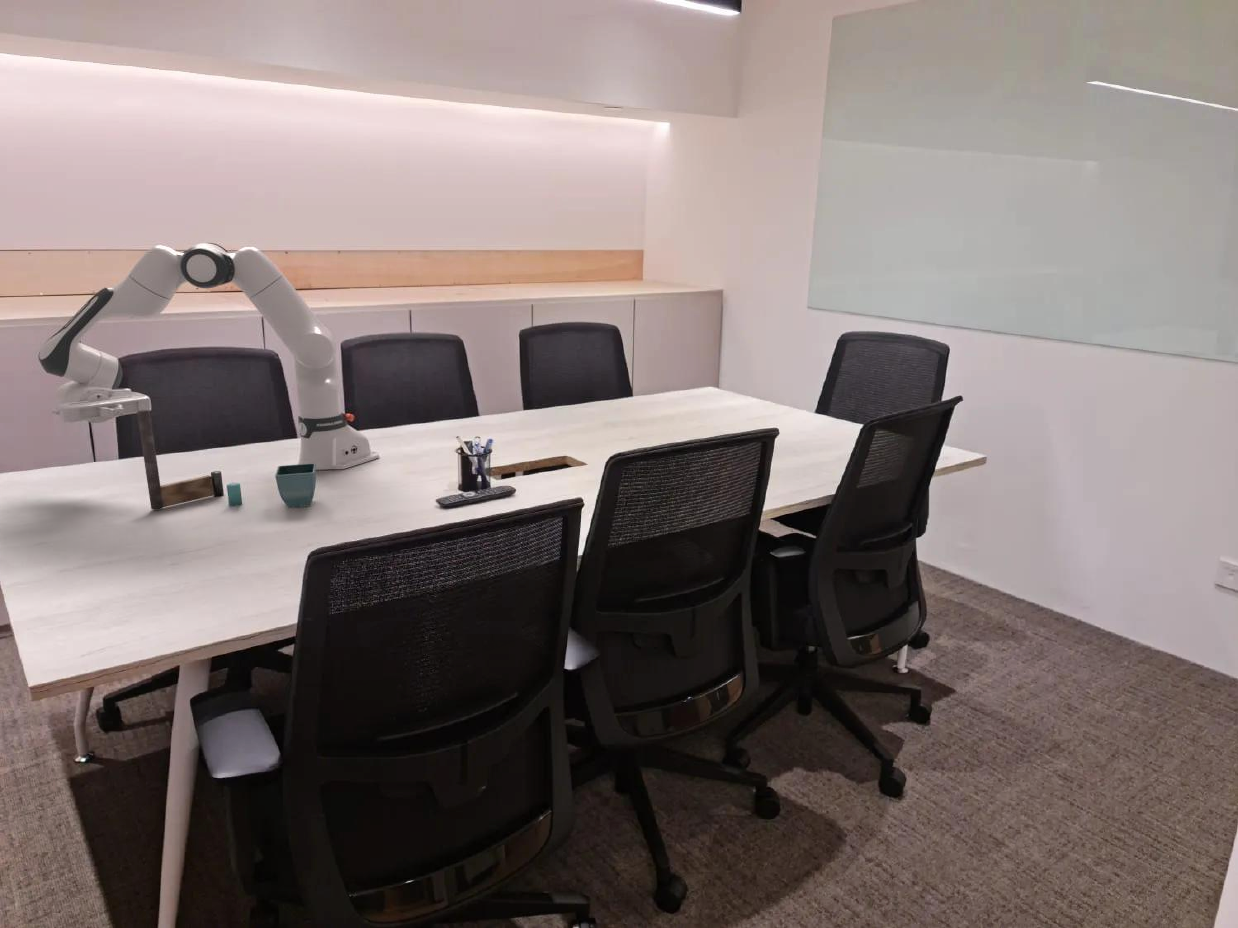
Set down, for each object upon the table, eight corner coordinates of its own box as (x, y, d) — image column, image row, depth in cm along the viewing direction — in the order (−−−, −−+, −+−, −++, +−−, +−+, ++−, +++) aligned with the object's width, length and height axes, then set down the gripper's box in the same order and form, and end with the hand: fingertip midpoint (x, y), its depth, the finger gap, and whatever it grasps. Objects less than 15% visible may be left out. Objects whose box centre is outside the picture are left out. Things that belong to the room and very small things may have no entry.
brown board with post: (209, 493, 222) (198, 401, 216) (214, 495, 221) (203, 403, 215) (149, 508, 212) (135, 411, 205) (154, 510, 210) (140, 413, 204)
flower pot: (278, 511, 211) (274, 475, 209) (281, 500, 219) (278, 465, 217) (317, 508, 213) (314, 472, 211) (319, 497, 221) (315, 462, 219)
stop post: (238, 501, 218) (236, 482, 217) (244, 504, 216) (242, 484, 215) (226, 504, 216) (224, 484, 214) (232, 507, 214) (230, 487, 213)
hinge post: (221, 493, 225) (218, 470, 223) (225, 495, 223) (222, 472, 222) (211, 495, 223) (208, 472, 221) (216, 497, 221) (213, 474, 220)
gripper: (46, 398, 215) (68, 406, 206) (135, 387, 230) (159, 394, 221) (50, 423, 216) (72, 432, 208) (138, 411, 232) (162, 419, 223)
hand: (118, 412), depth 215 cm, fingers closed
